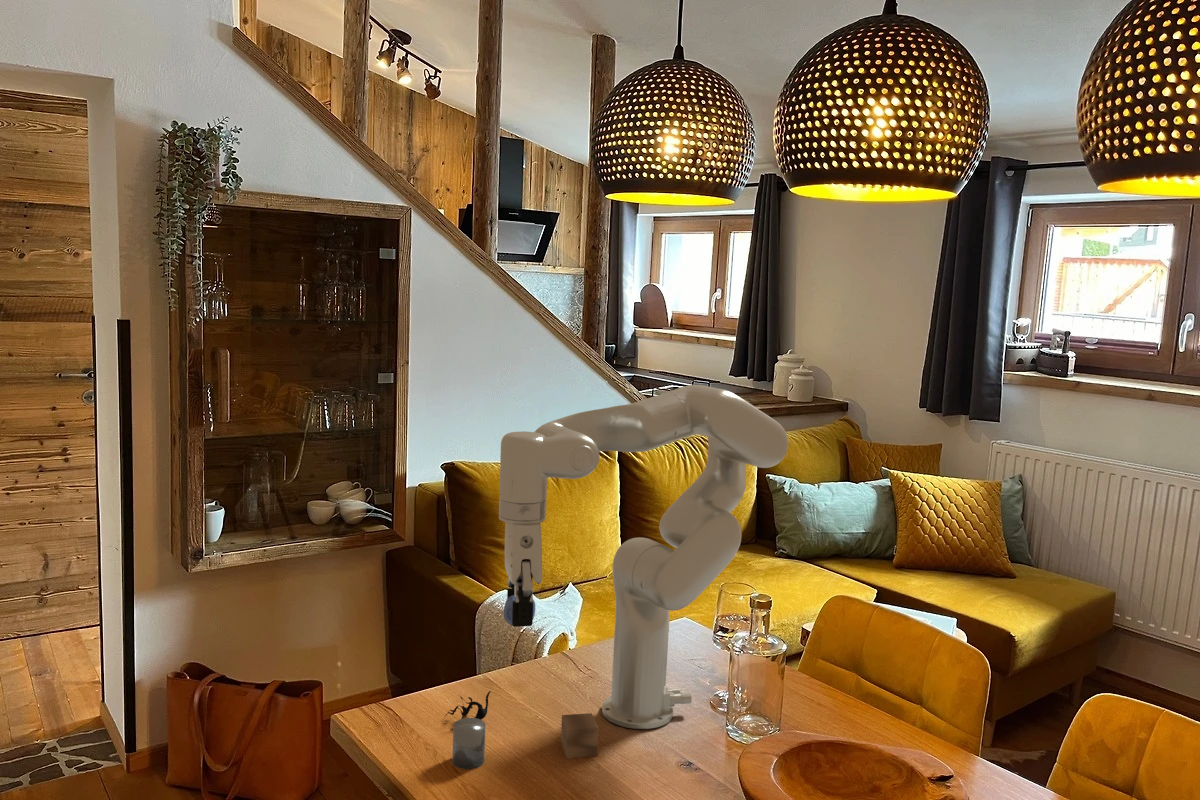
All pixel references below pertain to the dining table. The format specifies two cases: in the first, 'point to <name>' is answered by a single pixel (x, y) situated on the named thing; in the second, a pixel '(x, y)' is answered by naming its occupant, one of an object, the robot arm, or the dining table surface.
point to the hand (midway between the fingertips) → (519, 617)
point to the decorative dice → (509, 607)
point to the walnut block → (579, 735)
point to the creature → (480, 713)
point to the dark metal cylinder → (468, 743)
